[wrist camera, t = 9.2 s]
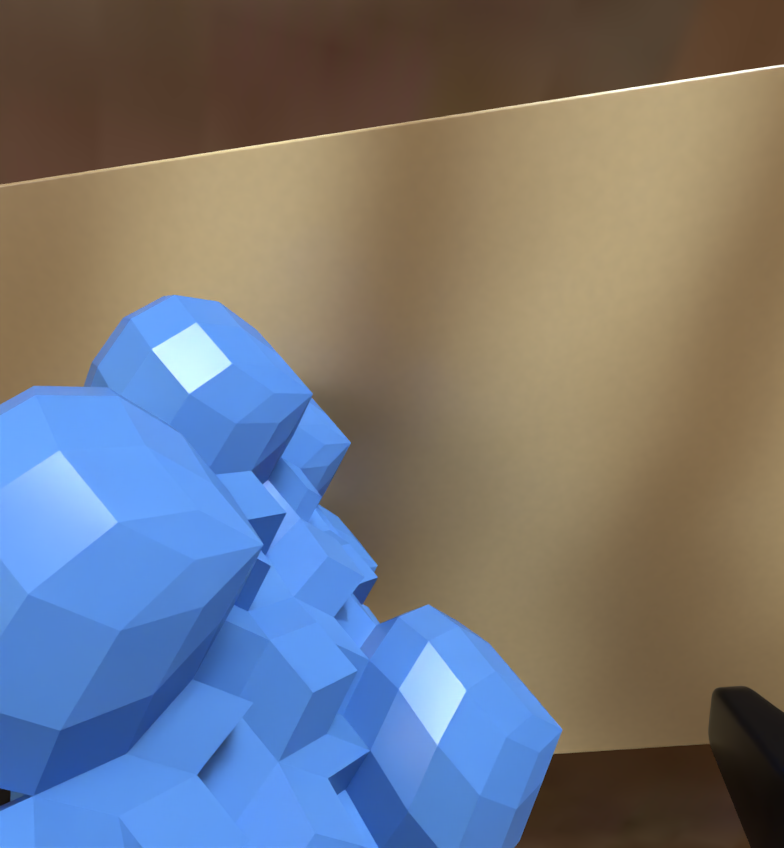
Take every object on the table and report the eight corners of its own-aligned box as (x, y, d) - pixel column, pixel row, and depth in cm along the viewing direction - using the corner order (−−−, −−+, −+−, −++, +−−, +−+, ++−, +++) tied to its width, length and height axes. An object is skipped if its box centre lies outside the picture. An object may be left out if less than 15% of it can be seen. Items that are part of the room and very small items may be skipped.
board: (875, 58, 11) (945, 38, 9) (772, 692, 17) (805, 738, 15) (-113, 209, 12) (-181, 211, 11) (121, 739, 18) (96, 784, 17)
